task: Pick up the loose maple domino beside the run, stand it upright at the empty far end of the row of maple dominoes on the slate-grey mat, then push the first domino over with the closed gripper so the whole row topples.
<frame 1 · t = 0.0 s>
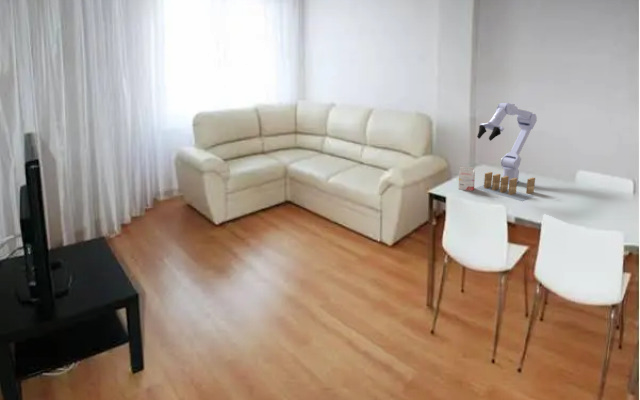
hand: (483, 138, 270), 32 cm above the table, tool tilted 50°, fingers open, 7 cm apart
domino 2: (495, 189, 283), resting on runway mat
ink cartridge box: (466, 189, 287), on the table
domino 3: (503, 191, 279), resting on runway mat
domino 1: (487, 187, 287), resting on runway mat
loose domino: (529, 193, 275), on the table
domino 4: (512, 193, 274), resting on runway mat
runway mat: (503, 192, 278), on the table
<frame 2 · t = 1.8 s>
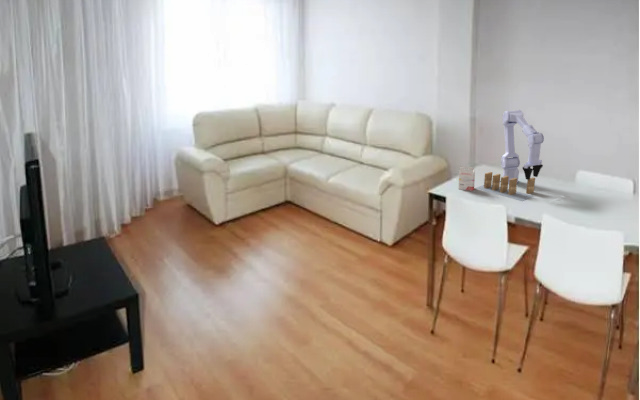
hand: (531, 178, 272), 9 cm above the table, tool pointing down, fingers open, 7 cm apart
nothing on the table moved.
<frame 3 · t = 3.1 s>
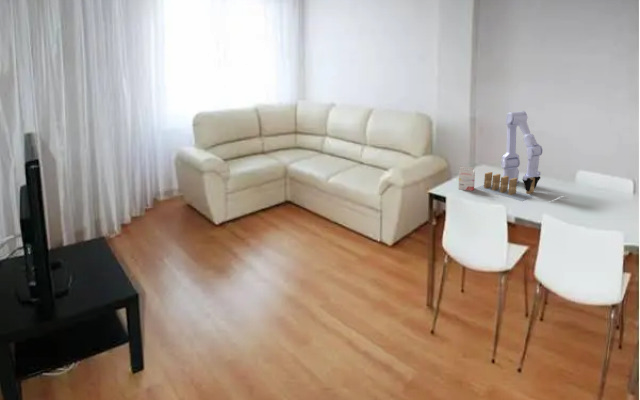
hand: (530, 189, 274), 2 cm above the table, tool pointing down, fingers closed on loose domino, 5 cm apart
loose domino: (529, 193, 275), on the table, touching gripper
everything else where it was.
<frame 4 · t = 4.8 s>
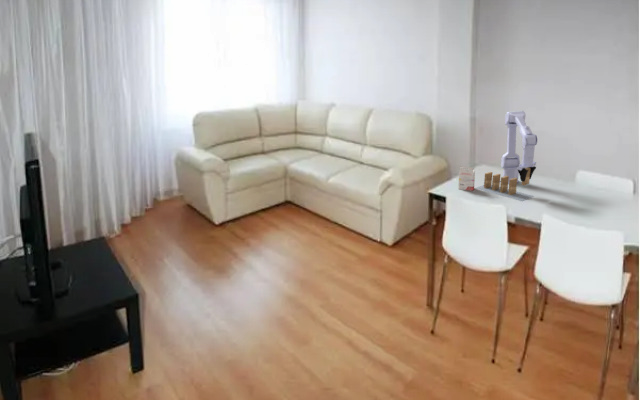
hand: (525, 179, 269), 9 cm above the table, tool pointing down, fingers closed on loose domino, 5 cm apart
loose domino: (525, 184, 269), point 7 cm above the table, touching gripper
everything else where it was.
when the fingers open (4 cm above the table, at t = 6.9 s): loose domino stays where it is, resting on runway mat.
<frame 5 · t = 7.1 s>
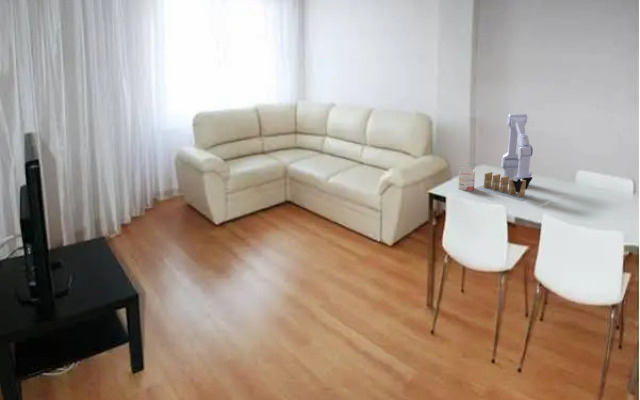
hand: (521, 190, 269), 4 cm above the table, tool pointing down, fingers open, 6 cm apart
loose domino: (520, 196, 270), resting on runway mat
everything else where it was.
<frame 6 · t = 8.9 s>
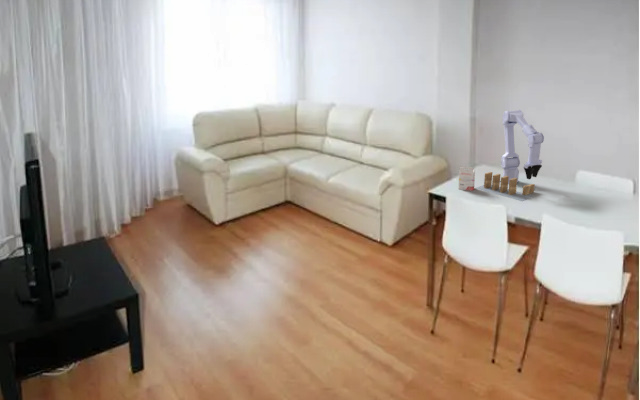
hand: (531, 177, 272), 9 cm above the table, tool pointing down, fingers open, 5 cm apart
loose domino: (524, 190, 270), point 3 cm above the table, tilted 95°, touching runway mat
everything else where it was.
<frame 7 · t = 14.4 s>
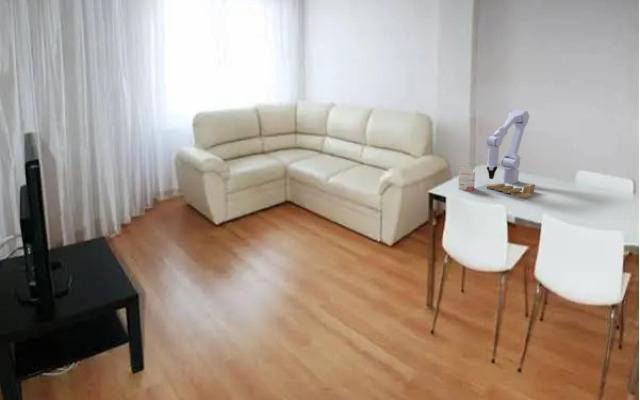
hand: (491, 178, 283), 6 cm above the table, tool pointing down, fingers closed
domino 2: (497, 188, 282), point 1 cm above the table, tilted 73°, touching domino 1, domino 3, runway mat
domino 3: (505, 190, 277), point 1 cm above the table, tilted 73°, touching domino 2, domino 4, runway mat
domino 1: (489, 186, 286), point 1 cm above the table, tilted 73°, touching domino 2, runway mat
domino 4: (513, 193, 273), point 1 cm above the table, tilted 90°, touching domino 3, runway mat
everything else where it was.
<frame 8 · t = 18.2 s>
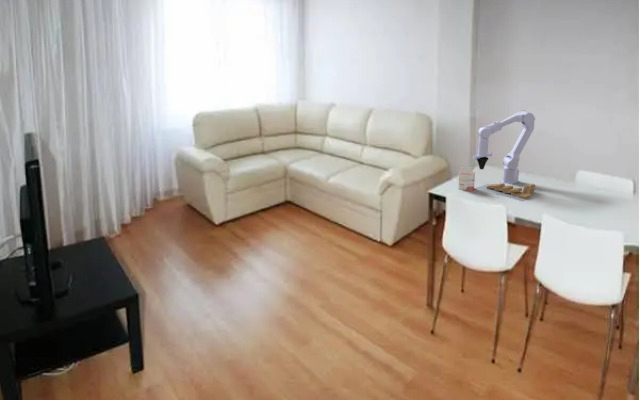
hand: (481, 169, 292), 9 cm above the table, tool pointing down, fingers closed
nothing on the table moved.
at the end: loose domino tilted 95°; domino 1 tilted 73° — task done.
